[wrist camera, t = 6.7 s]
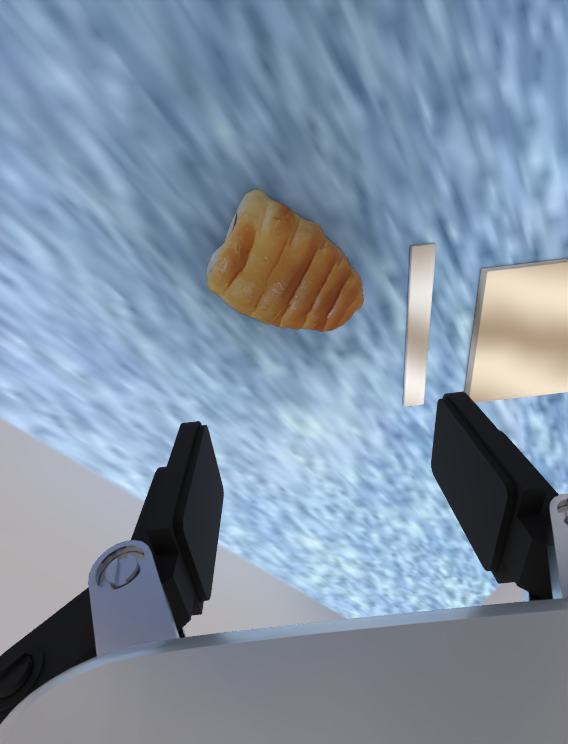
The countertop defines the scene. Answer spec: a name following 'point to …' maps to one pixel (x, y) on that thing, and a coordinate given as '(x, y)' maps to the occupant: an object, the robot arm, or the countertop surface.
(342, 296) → the pastry
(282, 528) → the countertop surface
